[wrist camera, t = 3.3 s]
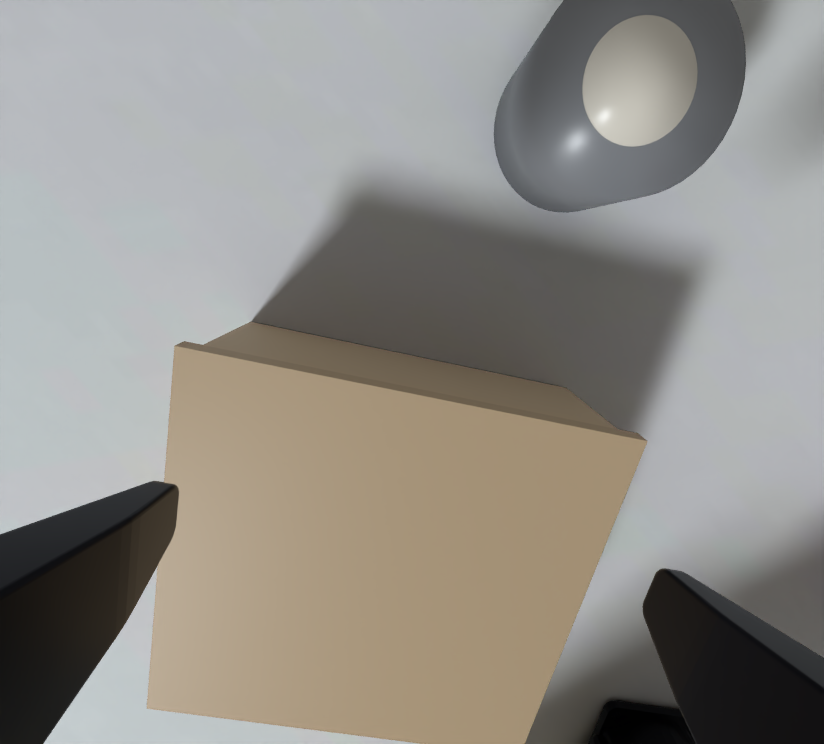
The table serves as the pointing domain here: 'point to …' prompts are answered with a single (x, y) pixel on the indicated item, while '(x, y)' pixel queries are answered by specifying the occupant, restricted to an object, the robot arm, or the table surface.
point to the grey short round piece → (619, 100)
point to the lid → (372, 551)
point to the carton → (407, 371)
